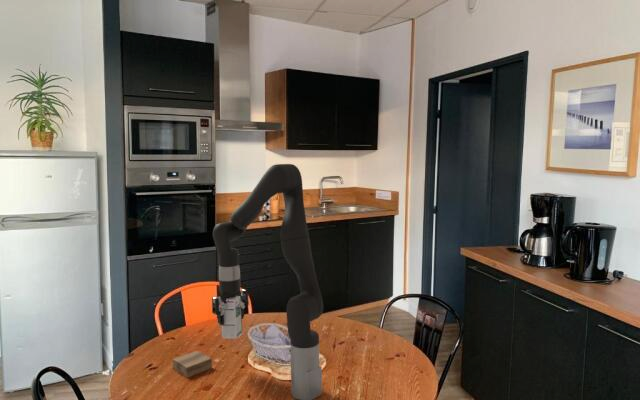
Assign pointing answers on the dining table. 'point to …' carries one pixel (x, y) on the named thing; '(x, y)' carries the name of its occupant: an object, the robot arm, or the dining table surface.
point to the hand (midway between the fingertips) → (231, 321)
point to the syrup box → (232, 319)
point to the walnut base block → (192, 363)
